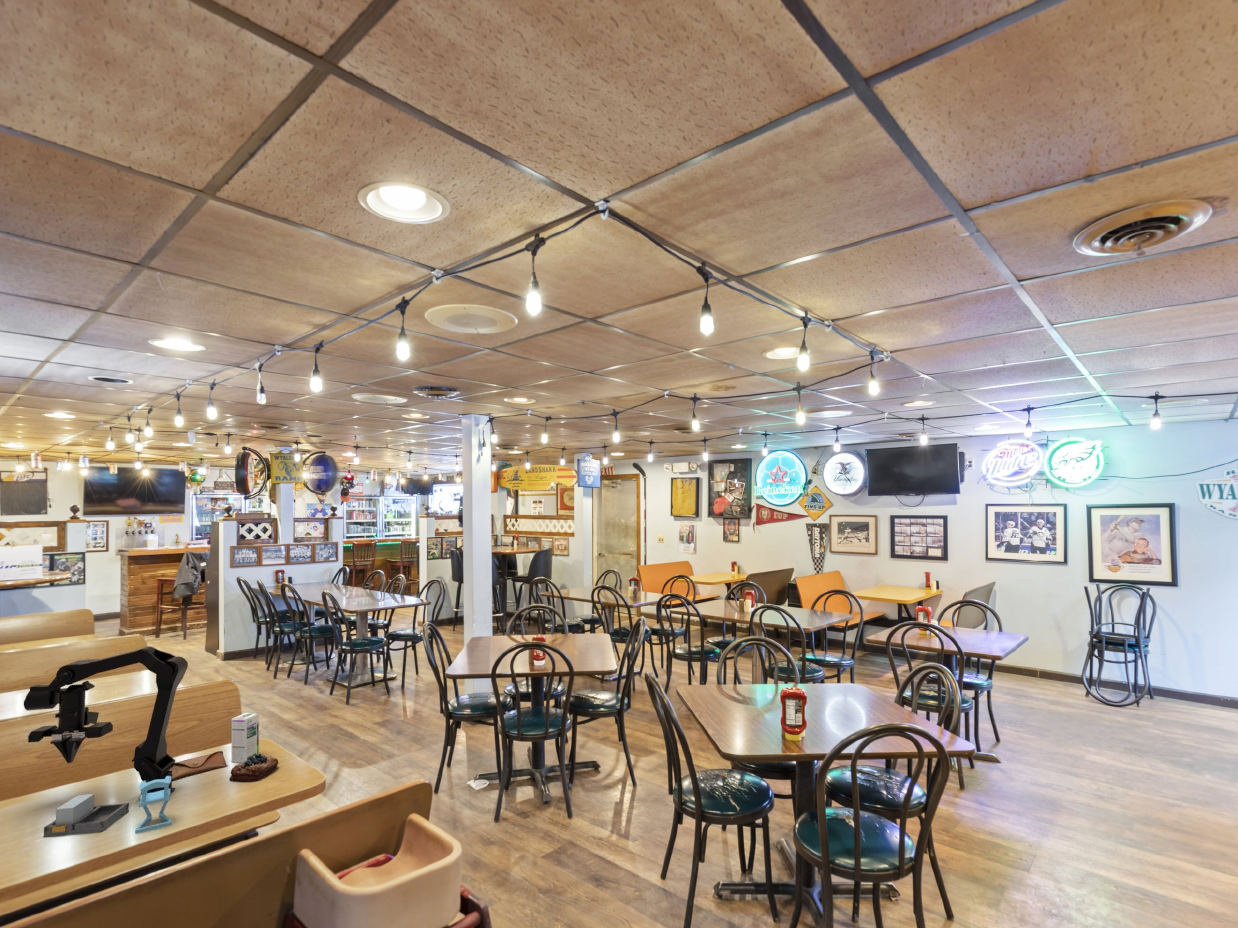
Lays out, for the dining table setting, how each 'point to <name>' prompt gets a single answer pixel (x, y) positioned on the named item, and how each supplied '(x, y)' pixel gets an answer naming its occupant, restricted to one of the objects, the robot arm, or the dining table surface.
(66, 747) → the robot arm
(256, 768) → the pastry
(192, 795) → the dining table surface
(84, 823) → the dark grey flat tray
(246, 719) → the syrup box
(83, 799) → the grey rectangular block
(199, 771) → the sunglasses case
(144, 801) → the chair
